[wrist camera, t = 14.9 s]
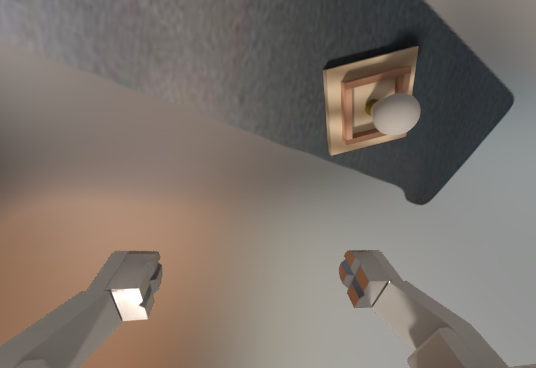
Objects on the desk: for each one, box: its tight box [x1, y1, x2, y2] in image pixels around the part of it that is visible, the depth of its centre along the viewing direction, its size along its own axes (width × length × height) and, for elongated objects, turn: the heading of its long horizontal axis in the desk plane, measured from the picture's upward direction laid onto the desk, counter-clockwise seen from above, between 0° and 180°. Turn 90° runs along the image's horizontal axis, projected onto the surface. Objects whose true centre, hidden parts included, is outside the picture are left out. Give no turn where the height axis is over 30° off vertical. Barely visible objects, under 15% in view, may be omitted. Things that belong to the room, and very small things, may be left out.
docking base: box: [323, 46, 419, 155], centre depth 36 cm, size 15×15×4 cm
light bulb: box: [365, 93, 420, 135], centre depth 32 cm, size 6×6×10 cm
